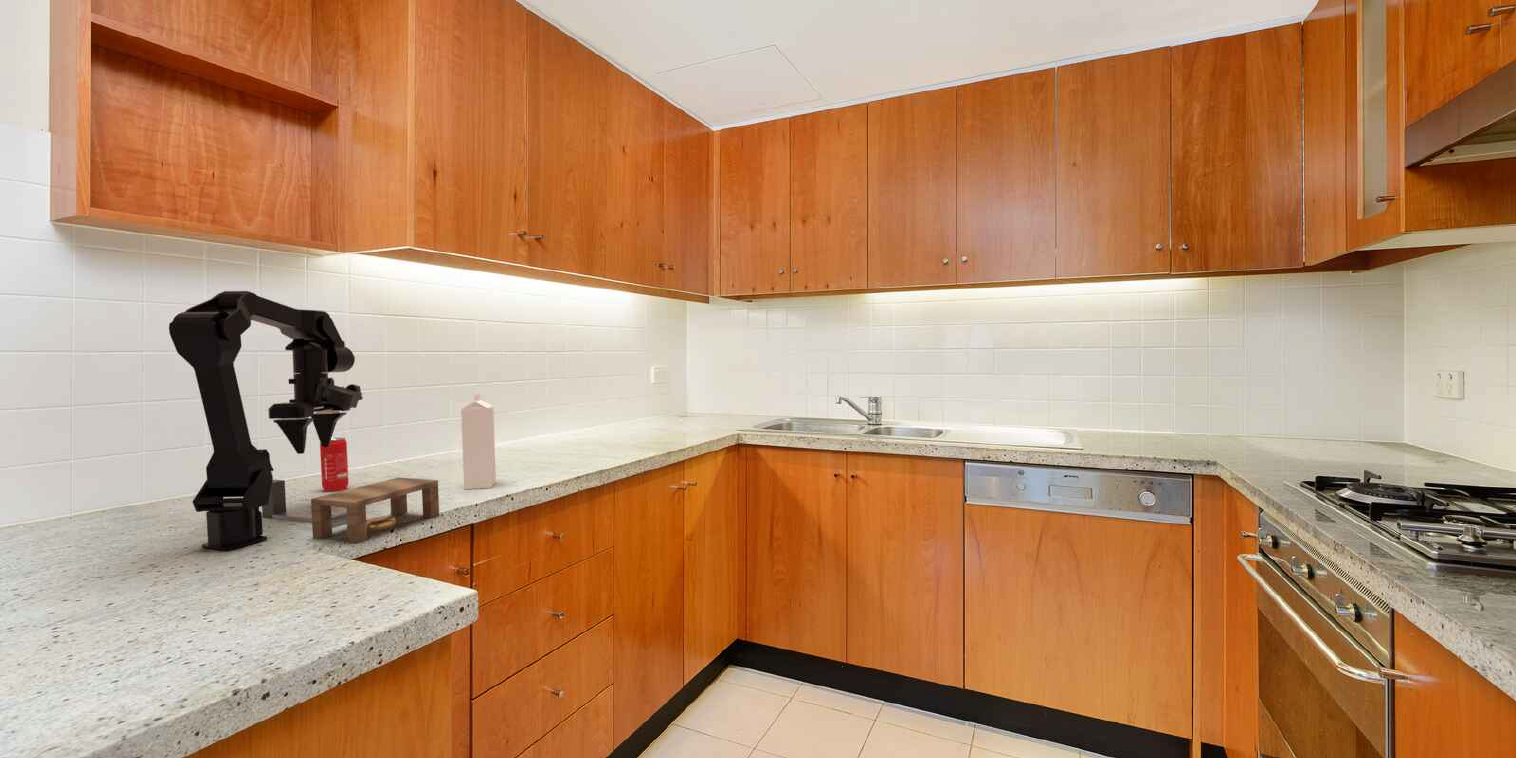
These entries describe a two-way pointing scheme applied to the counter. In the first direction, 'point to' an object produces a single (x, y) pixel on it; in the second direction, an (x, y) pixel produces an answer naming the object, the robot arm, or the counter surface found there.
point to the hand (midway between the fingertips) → (313, 450)
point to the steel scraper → (278, 511)
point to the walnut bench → (367, 495)
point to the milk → (478, 445)
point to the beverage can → (334, 465)
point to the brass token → (380, 522)
